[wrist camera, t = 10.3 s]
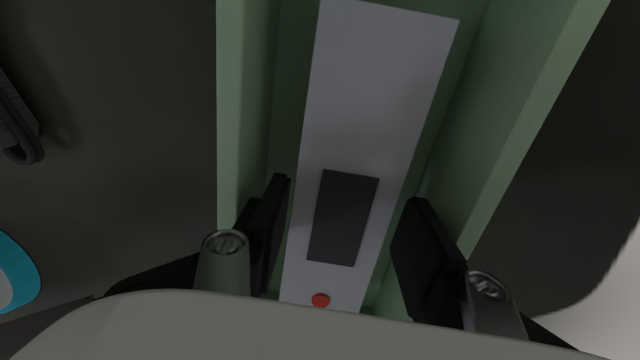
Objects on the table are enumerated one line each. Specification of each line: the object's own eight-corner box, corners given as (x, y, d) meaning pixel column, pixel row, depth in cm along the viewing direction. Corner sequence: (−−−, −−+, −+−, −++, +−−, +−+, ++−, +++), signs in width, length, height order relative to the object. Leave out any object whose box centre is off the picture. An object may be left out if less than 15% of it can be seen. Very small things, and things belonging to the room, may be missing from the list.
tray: (269, -69, 11) (213, -177, 6) (509, -20, 11) (657, -83, 6) (247, 288, 20) (217, 368, 15) (378, 309, 20) (393, 394, 15)
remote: (324, 8, 11) (321, -9, 8) (428, 28, 11) (463, 18, 8) (285, 277, 18) (275, 321, 15) (349, 287, 18) (353, 333, 15)
